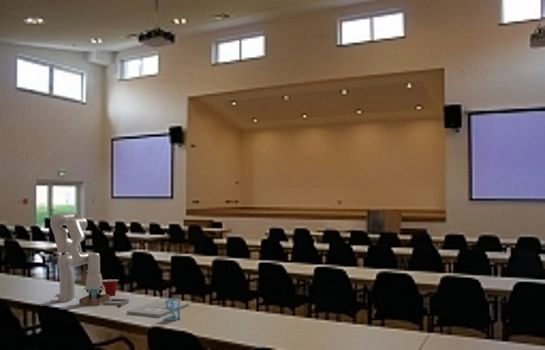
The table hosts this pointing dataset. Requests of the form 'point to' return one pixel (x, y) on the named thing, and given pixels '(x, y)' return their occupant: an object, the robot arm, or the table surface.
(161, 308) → the award plaque
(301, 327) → the table surface
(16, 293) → the table surface
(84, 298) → the walnut box
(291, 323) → the table surface
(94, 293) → the peg
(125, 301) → the tray
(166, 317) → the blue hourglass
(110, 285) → the plastic cup
